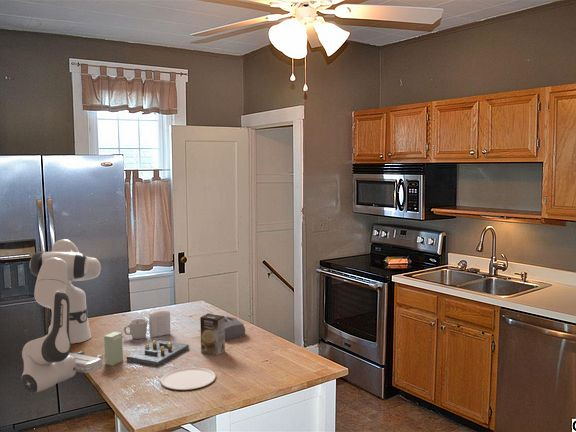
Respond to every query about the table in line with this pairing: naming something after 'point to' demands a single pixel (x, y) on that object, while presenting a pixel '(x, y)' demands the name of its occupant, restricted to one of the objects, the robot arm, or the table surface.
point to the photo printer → (159, 323)
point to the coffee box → (212, 334)
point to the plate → (188, 378)
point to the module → (113, 348)
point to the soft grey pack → (233, 328)
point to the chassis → (157, 353)
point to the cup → (137, 328)
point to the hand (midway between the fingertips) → (92, 355)
